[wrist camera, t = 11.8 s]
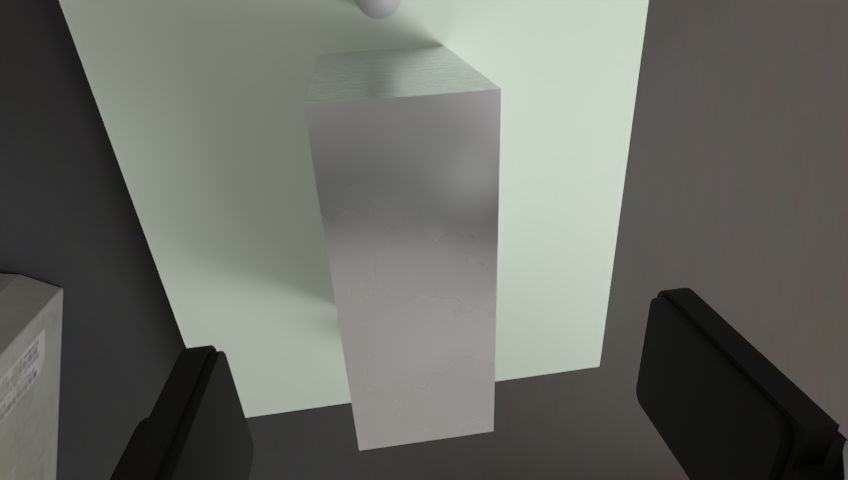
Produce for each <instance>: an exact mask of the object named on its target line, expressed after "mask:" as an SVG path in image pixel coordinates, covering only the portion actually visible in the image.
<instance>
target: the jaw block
mask: <svg viewBox="0 0 848 480" xmlns="http://www.w3.org/2000/svg"><path fill="white" fill-rule="evenodd" d="M303 106H304V112H305V118H306V125H307V131H308V137H309V143H310V149H311V156H312V162H313V168H314V174H315V180H316V186H317V193H318V199H319V205H320V211H321V217H322V224H323V230H324V236H325V242H326V248H327V255H328V261H329V267H330V273H331V279H332V286H333V292H334V298H335V304H336V310H337V317H338V323H339V329H340V335H341V341H342V348H343V354H344V360H345V366H346V372H347V378H348V385H349V391H350V397H351V403H352V409H353V416H354V422H355V428H356V434H357V440H358V447H359V451H361V450H368V449H375V448H382V447H389V446H396V445H403V444H410V443H416V442H423V441H430V440H437V439H444V438H451V437H458V436H465V435H472V434H479V433H486V432H492V431H494V391H495V346H496V301H497V255H498V210H499V165H500V119H501V88H499V87H498V86H497V85H495V84H494V83H493V82H491V81H490V80H489V79H487V78H486V77H485V76H483V75H482V74H481V73H480V72H478V71H477V70H476V69H474V68H473V67H472V66H470V65H469V64H468V63H466V62H465V61H464V60H463V59H461V58H460V57H459V56H457V55H456V54H455V53H453V52H452V51H451V50H449V49H448V48H447V47H446V46H444V45H442V46H428V47H414V48H400V49H386V50H372V51H358V52H344V53H330V54H320V56H319V59H318V62H317V65H316V68H315V71H314V74H313V77H312V80H311V83H310V86H309V89H308V92H307V95H306V98H305V101H304V104H303Z"/></svg>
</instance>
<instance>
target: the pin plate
mask: <svg viewBox="0 0 848 480" xmlns="http://www.w3.org/2000/svg"><path fill="white" fill-rule="evenodd" d="M648 2H649V0H59V3H60V5H61V8H62V11H63V13H64V16H65V19H66V22H67V24H68V27H69V30H70V33H71V35H72V38H73V41H74V43H75V46H76V49H77V52H78V54H79V57H80V60H81V63H82V65H83V68H84V71H85V73H86V76H87V79H88V82H89V84H90V87H91V90H92V93H93V95H94V98H95V101H96V103H97V106H98V109H99V112H100V114H101V117H102V120H103V123H104V125H105V128H106V131H107V133H108V136H109V139H110V142H111V144H112V147H113V150H114V152H115V155H116V158H117V161H118V163H119V166H120V169H121V172H122V174H123V177H124V180H125V182H126V185H127V188H128V191H129V193H130V196H131V199H132V202H133V204H134V207H135V210H136V212H137V215H138V218H139V221H140V223H141V226H142V229H143V232H144V234H145V237H146V240H147V242H148V245H149V248H150V251H151V253H152V256H153V259H154V262H155V264H156V267H157V270H158V272H159V275H160V278H161V281H162V283H163V286H164V289H165V291H166V294H167V297H168V300H169V302H170V305H171V308H172V311H173V313H174V316H175V319H176V321H177V324H178V327H179V330H180V332H181V335H182V338H183V341H184V343H185V346H186V348H192V347H200V346H208V345H212V346H214V347H215V348H216V350H217V351H224V353H225V354H226V357H227V360H228V363H229V367H230V370H231V373H232V376H233V379H234V383H235V386H236V389H237V392H238V396H239V399H240V402H241V405H242V409H243V412H244V415H245V418H248V417H255V416H262V415H268V414H275V413H282V412H289V411H296V410H303V409H310V408H317V407H324V406H331V405H337V404H344V403H351V397H350V391H349V385H348V378H347V372H346V366H345V360H344V354H343V348H342V341H341V335H340V329H339V323H338V317H337V310H336V304H335V298H334V292H333V286H332V279H331V273H330V267H329V261H328V255H327V248H326V242H325V236H324V230H323V224H322V217H321V211H320V205H319V199H318V193H317V186H316V180H315V174H314V168H313V162H312V156H311V149H310V143H309V137H308V131H307V125H306V118H305V112H304V106H303V104H304V101H305V98H306V95H307V92H308V89H309V86H310V83H311V80H312V77H313V74H314V71H315V68H316V65H317V62H318V59H319V56H320V54H330V53H344V52H358V51H372V50H386V49H400V48H414V47H428V46H442V45H444V46H446V47H447V48H448V49H449V50H451V51H452V52H453V53H455V54H456V55H457V56H459V57H460V58H461V59H463V60H464V61H465V62H466V63H468V64H469V65H470V66H472V67H473V68H474V69H476V70H477V71H478V72H480V73H481V74H482V75H483V76H485V77H486V78H487V79H489V80H490V81H491V82H493V83H494V84H495V85H497V86H498V87H499V88H501V119H500V165H499V210H498V255H497V301H496V346H495V382H496V381H503V380H510V379H517V378H523V377H530V376H537V375H544V374H551V373H558V372H565V371H572V370H579V369H586V368H592V367H599V366H600V359H601V351H602V344H603V336H604V329H605V322H606V314H607V307H608V299H609V292H610V284H611V277H612V269H613V262H614V255H615V247H616V240H617V232H618V225H619V217H620V210H621V203H622V195H623V188H624V180H625V173H626V165H627V158H628V151H629V143H630V136H631V128H632V121H633V113H634V106H635V99H636V91H637V84H638V76H639V69H640V61H641V54H642V46H643V39H644V32H645V24H646V17H647V9H648Z"/></svg>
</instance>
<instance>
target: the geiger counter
mask: <svg viewBox="0 0 848 480" xmlns="http://www.w3.org/2000/svg"><path fill="white" fill-rule="evenodd" d="M62 312H63V289H62V288H60V287H57V286H54V285H51V284H48V283H45V282H42V281H39V280H36V279H33V278H30V277H27V276H24V275H21V274H0V480H56V469H57V443H58V416H59V390H60V364H61V338H62Z"/></svg>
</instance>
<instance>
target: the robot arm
mask: <svg viewBox="0 0 848 480" xmlns="http://www.w3.org/2000/svg"><path fill="white" fill-rule="evenodd" d="M636 392H637V398H638V401H639V403H640V405H641V407H642V408H643V410H644V411H645V413H646V414H647V416H648V417H649V419H650V420H651V422H652V423H653V425H654V426H655V428H656V429H657V431H658V432H659V434H660V435H661V437H662V438H663V440H664V441H665V443H666V444H667V446H668V447H669V449H670V450H671V452H672V453H673V455H674V456H675V458H676V459H677V461H678V462H679V464H680V465H681V467H682V468H683V470H684V471H685V473H686V474H687V476H688V477H689V479H690V480H848V440H847V439H846V438H845V437H844V436H843V435H842V434H841V433H840V432H839V431H837V430H838V428H839V425H838V424H837V423H836V422H835V421H834V420H833V419H832V418H831V417H830V416H829V415H827V414H826V413H825V412H824V411H823V410H822V409H821V408H820V407H819V406H818V405H817V404H815V403H814V402H813V401H812V400H811V399H810V398H809V397H808V396H807V395H806V394H805V393H804V392H802V391H801V390H800V389H799V388H798V387H797V386H796V385H795V384H794V383H793V382H792V381H790V380H789V379H788V378H787V377H786V376H785V375H784V374H783V373H782V372H781V371H780V370H778V369H777V368H776V367H775V366H774V365H773V364H772V363H771V362H770V361H769V360H768V359H766V358H765V357H764V356H763V355H762V354H761V353H760V352H759V351H758V350H757V349H756V348H755V347H753V346H752V345H751V344H750V343H749V342H748V341H747V340H746V339H745V338H744V337H743V336H741V335H740V334H739V333H738V332H737V331H736V330H735V329H734V328H733V327H732V326H731V325H729V324H728V323H727V322H726V321H725V320H724V319H723V318H722V317H721V316H720V315H719V314H718V313H716V312H715V311H714V310H713V309H712V308H711V307H710V306H709V305H708V304H707V303H706V302H704V301H703V300H702V299H701V298H700V297H699V296H698V295H697V294H696V293H695V292H694V291H692V290H691V289H689V288H679V289H671V290H663V291H661V292H659V294H658V296H657V298H654V299H653V300H652V301H651V304H650V310H649V316H648V322H647V328H646V334H645V340H644V346H643V352H642V358H641V364H640V370H639V376H638V382H637V388H636ZM252 459H253V441H252V438H251V434H250V431H249V428H248V425H247V421H246V418H245V415H244V412H243V409H242V405H241V402H240V399H239V396H238V392H237V389H236V386H235V383H234V379H233V376H232V373H231V370H230V367H229V363H228V360H227V357H226V354H225V353H224V351H217V350H216V348H215V347H214V346H212V345H208V346H200V347H192V348H185V349H183V350H182V351H181V353H180V355H179V357H178V359H177V361H176V363H175V365H174V367H173V369H172V371H171V373H170V375H169V377H168V379H167V381H166V384H165V386H164V388H163V390H162V392H161V394H160V396H159V398H158V400H157V402H156V404H155V406H154V408H153V410H152V412H151V414H150V416H149V418H145V419H143V420H142V421H141V422H140V423H139V424H138V426H137V427H136V429H135V431H134V433H133V435H132V437H131V439H130V441H129V443H128V445H127V447H126V449H125V451H124V453H123V455H122V457H121V459H120V461H119V463H118V465H117V467H116V469H115V471H114V473H113V474H112V476H111V478H110V480H248V477H249V473H250V468H251V464H252Z"/></svg>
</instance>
